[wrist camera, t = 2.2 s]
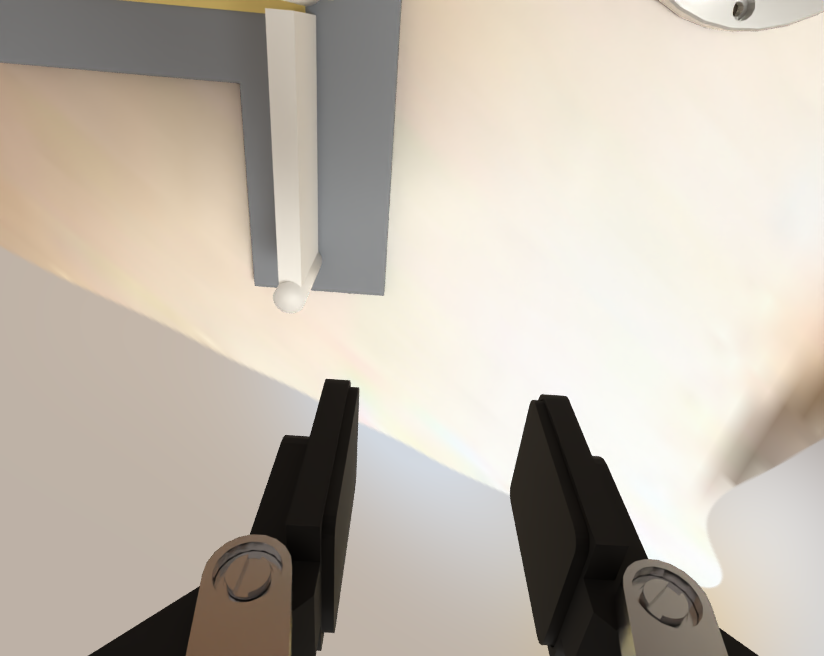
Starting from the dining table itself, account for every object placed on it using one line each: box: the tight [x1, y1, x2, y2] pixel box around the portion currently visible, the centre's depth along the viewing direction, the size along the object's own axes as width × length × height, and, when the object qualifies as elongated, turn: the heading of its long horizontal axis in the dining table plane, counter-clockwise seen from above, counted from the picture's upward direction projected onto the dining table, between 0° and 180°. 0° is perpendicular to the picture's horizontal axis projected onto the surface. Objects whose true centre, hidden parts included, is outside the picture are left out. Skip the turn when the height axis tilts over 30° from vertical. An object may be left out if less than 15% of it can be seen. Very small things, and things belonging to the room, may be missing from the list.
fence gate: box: [265, 8, 322, 313], centre depth 23 cm, size 12×1×5 cm, turn 175°
